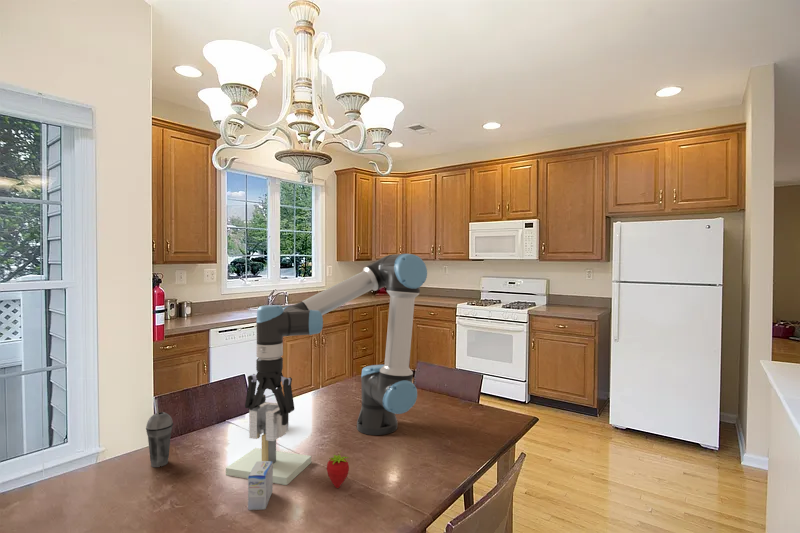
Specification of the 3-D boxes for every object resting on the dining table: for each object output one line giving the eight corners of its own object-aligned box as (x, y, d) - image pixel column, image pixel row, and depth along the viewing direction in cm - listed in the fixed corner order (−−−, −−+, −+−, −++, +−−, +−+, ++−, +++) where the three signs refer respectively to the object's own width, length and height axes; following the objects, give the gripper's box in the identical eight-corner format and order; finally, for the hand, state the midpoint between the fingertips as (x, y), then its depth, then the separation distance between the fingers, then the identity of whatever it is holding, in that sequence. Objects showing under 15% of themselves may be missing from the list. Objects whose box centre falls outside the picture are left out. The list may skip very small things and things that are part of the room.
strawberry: (343, 478, 120) (343, 443, 120) (352, 491, 113) (352, 454, 113) (323, 483, 117) (323, 447, 117) (331, 496, 110) (331, 458, 110)
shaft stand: (225, 474, 122) (225, 433, 122) (255, 454, 135) (255, 416, 135) (286, 485, 116) (286, 441, 116) (311, 462, 129) (311, 423, 129)
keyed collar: (249, 437, 123) (249, 410, 123) (265, 427, 130) (265, 402, 130) (273, 441, 120) (273, 413, 120) (288, 430, 128) (288, 404, 128)
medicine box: (255, 493, 112) (255, 461, 112) (273, 492, 112) (272, 460, 112) (247, 510, 104) (247, 475, 104) (266, 509, 104) (266, 475, 104)
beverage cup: (178, 460, 131) (178, 396, 131) (158, 471, 124) (158, 403, 124) (160, 456, 133) (160, 393, 133) (139, 467, 126) (139, 400, 126)
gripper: (231, 357, 125) (231, 434, 125) (294, 362, 119) (293, 443, 119) (247, 352, 132) (247, 425, 132) (307, 357, 126) (306, 433, 126)
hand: (269, 433), depth 125 cm, fingers closed on keyed collar, 8 cm apart
